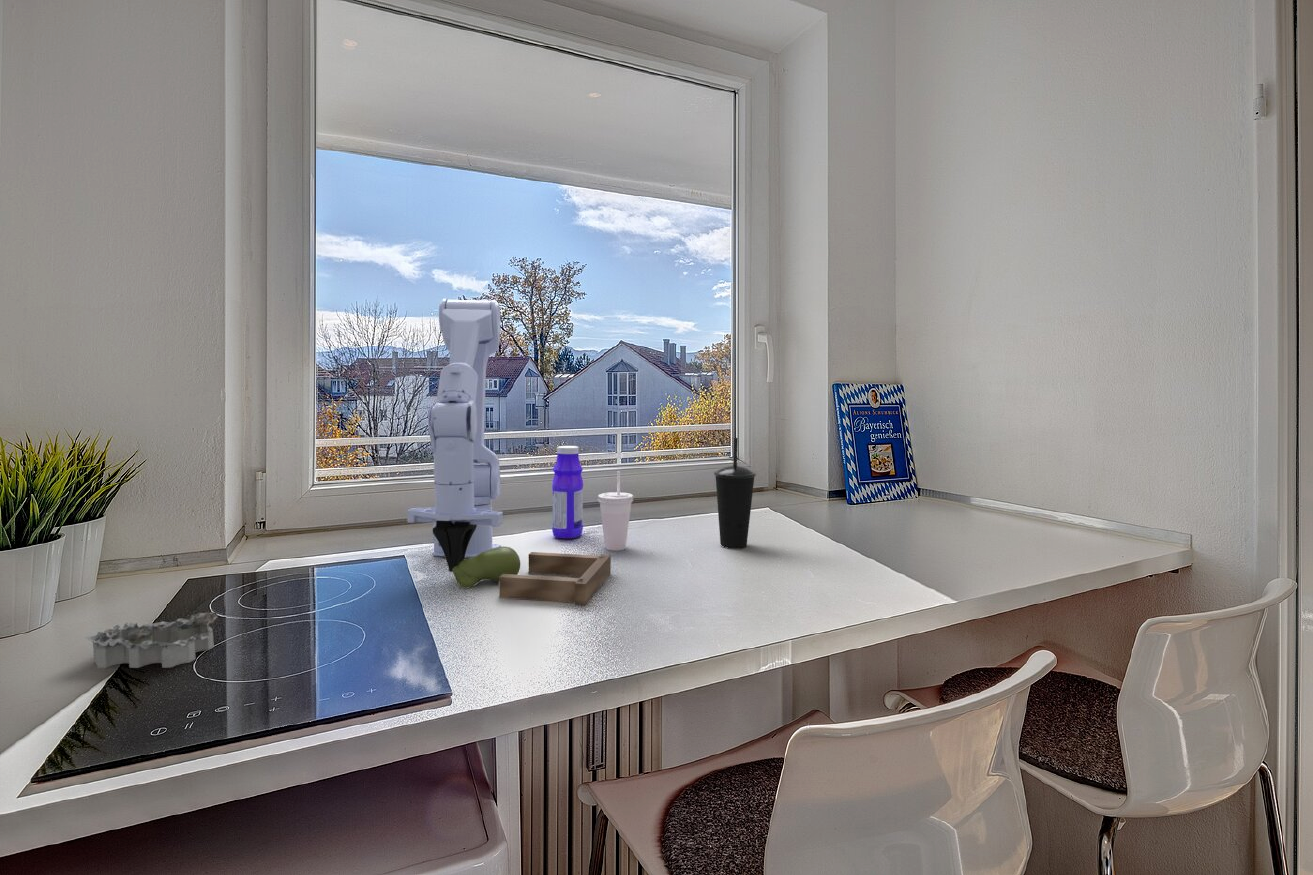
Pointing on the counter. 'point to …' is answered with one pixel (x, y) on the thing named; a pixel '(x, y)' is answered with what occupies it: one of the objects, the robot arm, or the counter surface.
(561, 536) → the bottle
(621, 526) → the smoothie
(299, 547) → the counter surface
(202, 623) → the egg carton
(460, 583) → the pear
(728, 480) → the drinking cup
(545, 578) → the walnut frame
